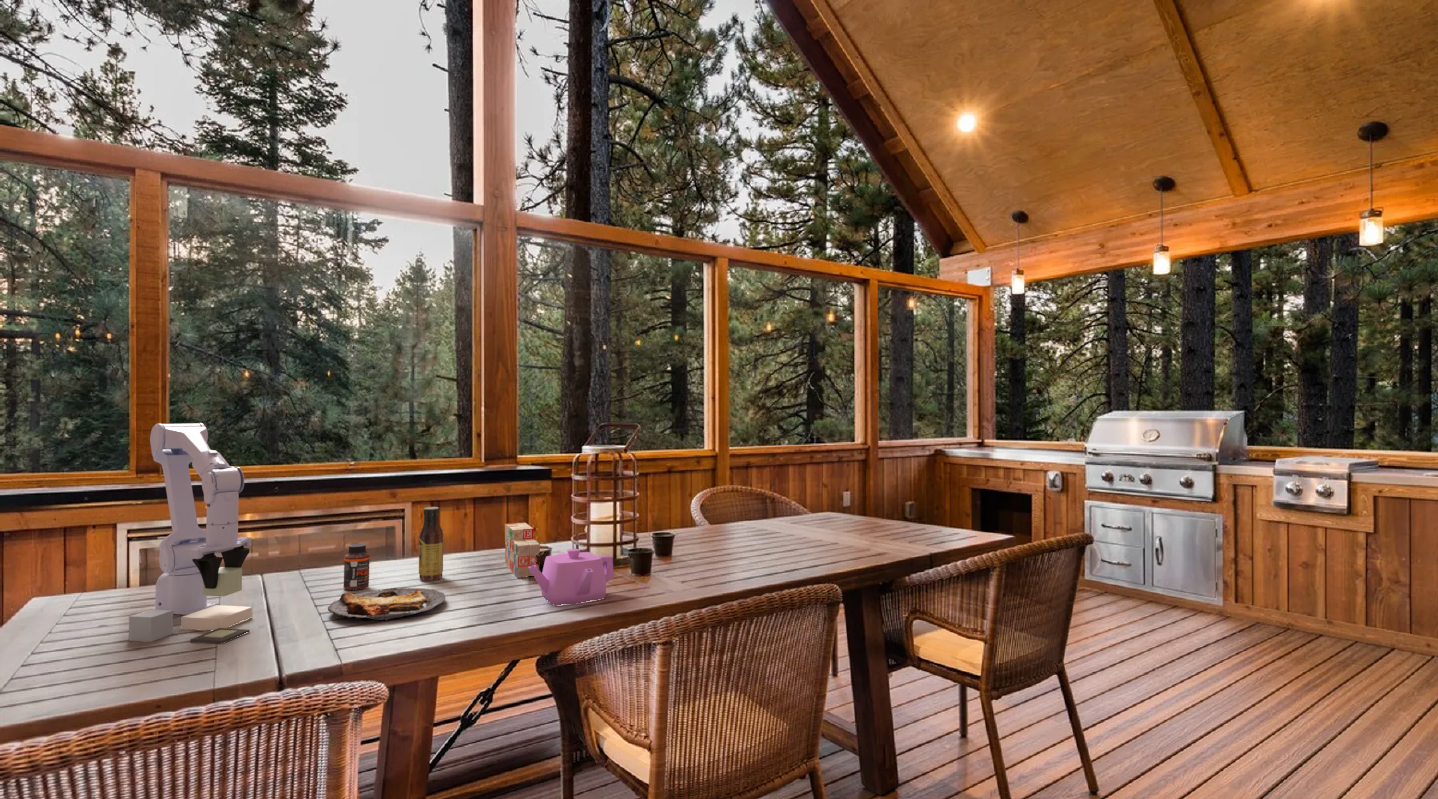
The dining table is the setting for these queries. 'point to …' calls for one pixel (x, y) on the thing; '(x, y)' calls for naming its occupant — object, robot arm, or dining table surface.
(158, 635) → the grey block
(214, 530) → the robot arm
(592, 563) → the teakettle
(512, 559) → the stack of blocks
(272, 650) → the dining table surface
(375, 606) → the food plate
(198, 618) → the base block
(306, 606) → the dining table surface
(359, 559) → the supplement bottle
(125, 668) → the dining table surface
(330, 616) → the dining table surface
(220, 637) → the tile
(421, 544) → the sauce bottle
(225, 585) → the sage block
